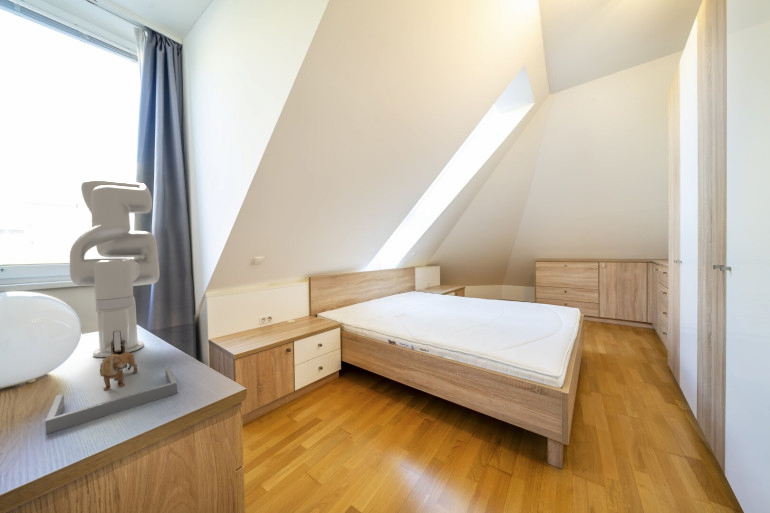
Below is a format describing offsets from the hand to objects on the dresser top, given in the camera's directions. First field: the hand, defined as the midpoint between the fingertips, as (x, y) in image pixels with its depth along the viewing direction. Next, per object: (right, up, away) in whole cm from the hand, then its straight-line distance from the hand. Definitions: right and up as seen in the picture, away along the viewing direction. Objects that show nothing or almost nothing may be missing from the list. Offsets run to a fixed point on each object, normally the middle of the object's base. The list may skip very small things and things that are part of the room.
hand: (119, 368), depth 77 cm
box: (+13, -2, -13) cm, 18 cm away
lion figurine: (+6, -2, -5) cm, 8 cm away
